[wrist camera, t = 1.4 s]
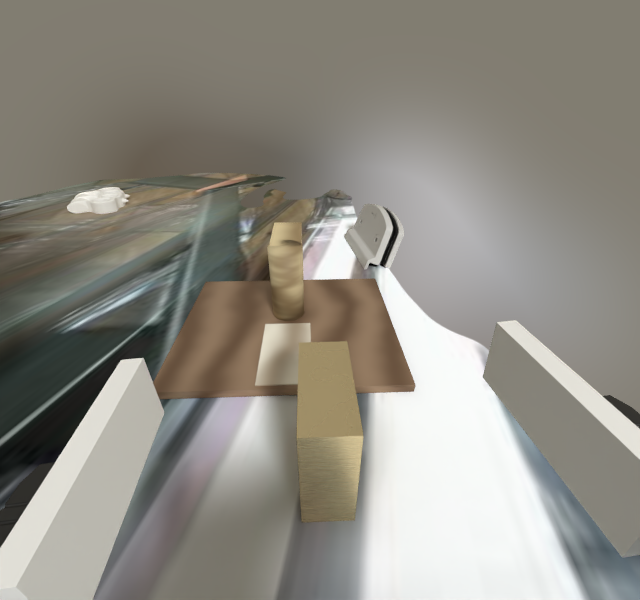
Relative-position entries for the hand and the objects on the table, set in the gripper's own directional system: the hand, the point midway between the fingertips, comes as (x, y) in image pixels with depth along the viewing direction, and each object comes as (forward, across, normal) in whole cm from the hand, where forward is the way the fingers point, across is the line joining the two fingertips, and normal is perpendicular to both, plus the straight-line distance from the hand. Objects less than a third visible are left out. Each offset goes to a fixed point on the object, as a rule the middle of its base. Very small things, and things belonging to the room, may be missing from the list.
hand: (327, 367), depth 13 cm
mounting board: (+29, -2, -17) cm, 33 cm away
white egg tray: (+94, -54, -13) cm, 109 cm away
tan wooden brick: (+8, 0, -18) cm, 20 cm away
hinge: (+54, +15, -17) cm, 58 cm away
